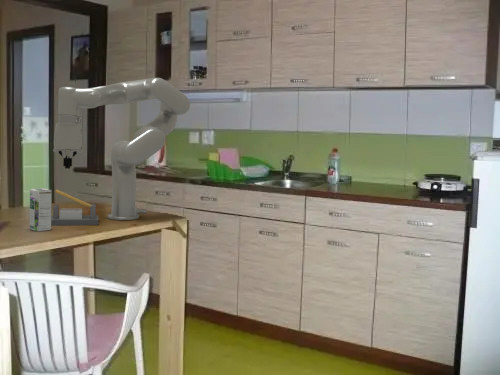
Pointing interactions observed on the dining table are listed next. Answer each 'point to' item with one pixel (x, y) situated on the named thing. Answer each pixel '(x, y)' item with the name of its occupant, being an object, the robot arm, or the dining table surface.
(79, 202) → the yellow long flat bar
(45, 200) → the syrup box
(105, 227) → the dining table surface
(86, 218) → the base
